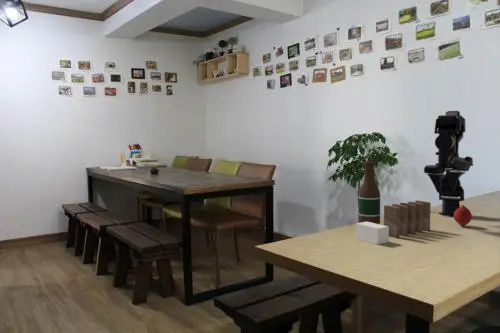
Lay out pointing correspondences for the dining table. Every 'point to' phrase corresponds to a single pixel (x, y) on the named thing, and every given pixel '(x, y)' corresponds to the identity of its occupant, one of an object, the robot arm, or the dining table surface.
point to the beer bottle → (369, 197)
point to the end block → (372, 232)
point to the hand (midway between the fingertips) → (445, 191)
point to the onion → (462, 216)
